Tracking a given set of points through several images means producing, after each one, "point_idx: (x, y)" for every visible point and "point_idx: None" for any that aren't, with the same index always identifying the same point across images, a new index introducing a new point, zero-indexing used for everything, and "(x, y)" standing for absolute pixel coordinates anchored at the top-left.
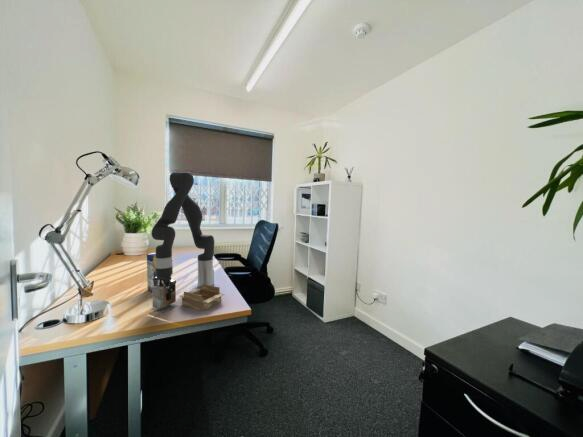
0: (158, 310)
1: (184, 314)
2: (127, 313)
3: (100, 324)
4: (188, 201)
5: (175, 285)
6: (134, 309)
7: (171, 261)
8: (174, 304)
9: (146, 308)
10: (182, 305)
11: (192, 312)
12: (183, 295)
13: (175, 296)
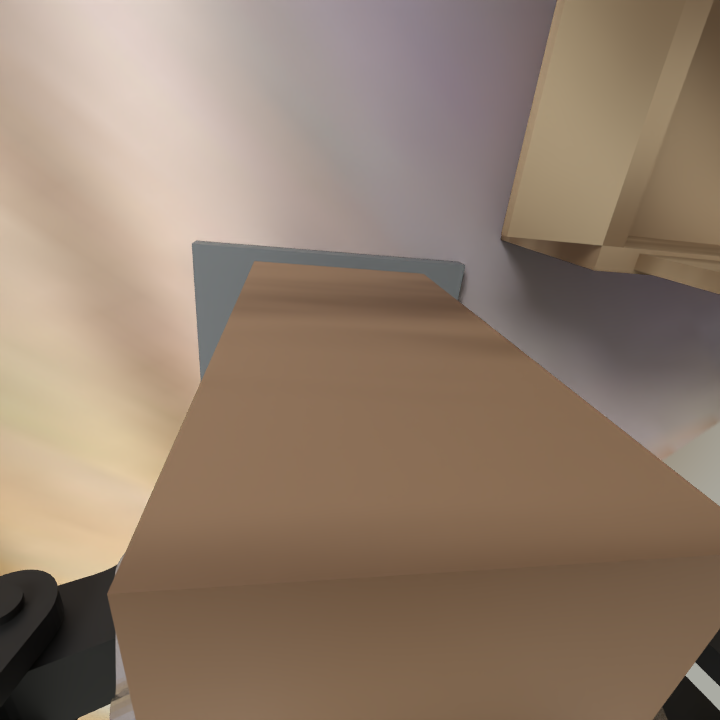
0: None
1: (631, 380)
2: (60, 582)
3: (99, 717)
4: None
5: (650, 456)
6: (6, 516)
7: None
8: (382, 260)
9: (107, 450)
10: (516, 243)
11: (696, 316)
12: (579, 183)
13: (457, 306)
